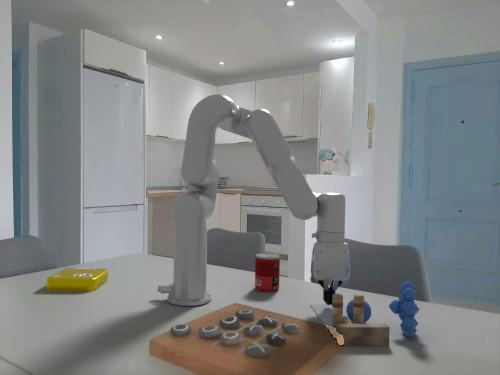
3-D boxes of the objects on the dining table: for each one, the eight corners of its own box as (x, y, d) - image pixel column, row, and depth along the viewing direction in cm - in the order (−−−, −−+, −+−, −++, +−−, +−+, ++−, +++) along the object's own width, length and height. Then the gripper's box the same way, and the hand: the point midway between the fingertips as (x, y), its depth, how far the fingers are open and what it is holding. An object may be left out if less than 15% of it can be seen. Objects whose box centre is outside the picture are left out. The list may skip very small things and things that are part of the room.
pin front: (338, 325, 93) (349, 339, 84) (340, 315, 93) (351, 328, 84) (348, 327, 93) (360, 341, 84) (349, 317, 93) (362, 330, 84)
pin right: (354, 333, 89) (355, 296, 88) (351, 329, 91) (351, 293, 91) (365, 333, 89) (366, 296, 89) (361, 329, 91) (362, 293, 91)
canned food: (277, 293, 120) (278, 258, 120) (252, 291, 122) (253, 256, 122) (280, 286, 128) (281, 253, 127) (257, 284, 129) (257, 252, 129)
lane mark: (334, 339, 85) (334, 338, 85) (310, 304, 109) (310, 304, 109) (373, 339, 85) (373, 338, 85) (341, 304, 109) (341, 304, 109)
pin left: (333, 333, 88) (334, 296, 88) (330, 329, 91) (331, 293, 91) (343, 333, 88) (344, 296, 88) (340, 329, 91) (341, 293, 91)
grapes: (386, 322, 96) (387, 275, 96) (415, 326, 94) (416, 277, 94) (389, 340, 85) (390, 286, 85) (422, 344, 83) (424, 289, 83)
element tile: (109, 280, 132) (110, 267, 132) (93, 293, 117) (94, 277, 117) (65, 280, 131) (65, 266, 131) (43, 292, 116) (44, 277, 116)
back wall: (338, 345, 81) (339, 327, 81) (336, 342, 83) (336, 323, 83) (389, 345, 82) (389, 327, 82) (385, 341, 84) (385, 323, 84)
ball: (368, 297, 93) (347, 291, 97) (359, 319, 90) (338, 313, 95) (378, 308, 96) (357, 302, 100) (370, 330, 93) (349, 324, 98)
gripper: (306, 239, 101) (305, 308, 101) (361, 239, 102) (360, 308, 102) (301, 235, 109) (299, 299, 109) (352, 235, 110) (350, 299, 110)
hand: (329, 303), depth 106 cm, fingers closed
